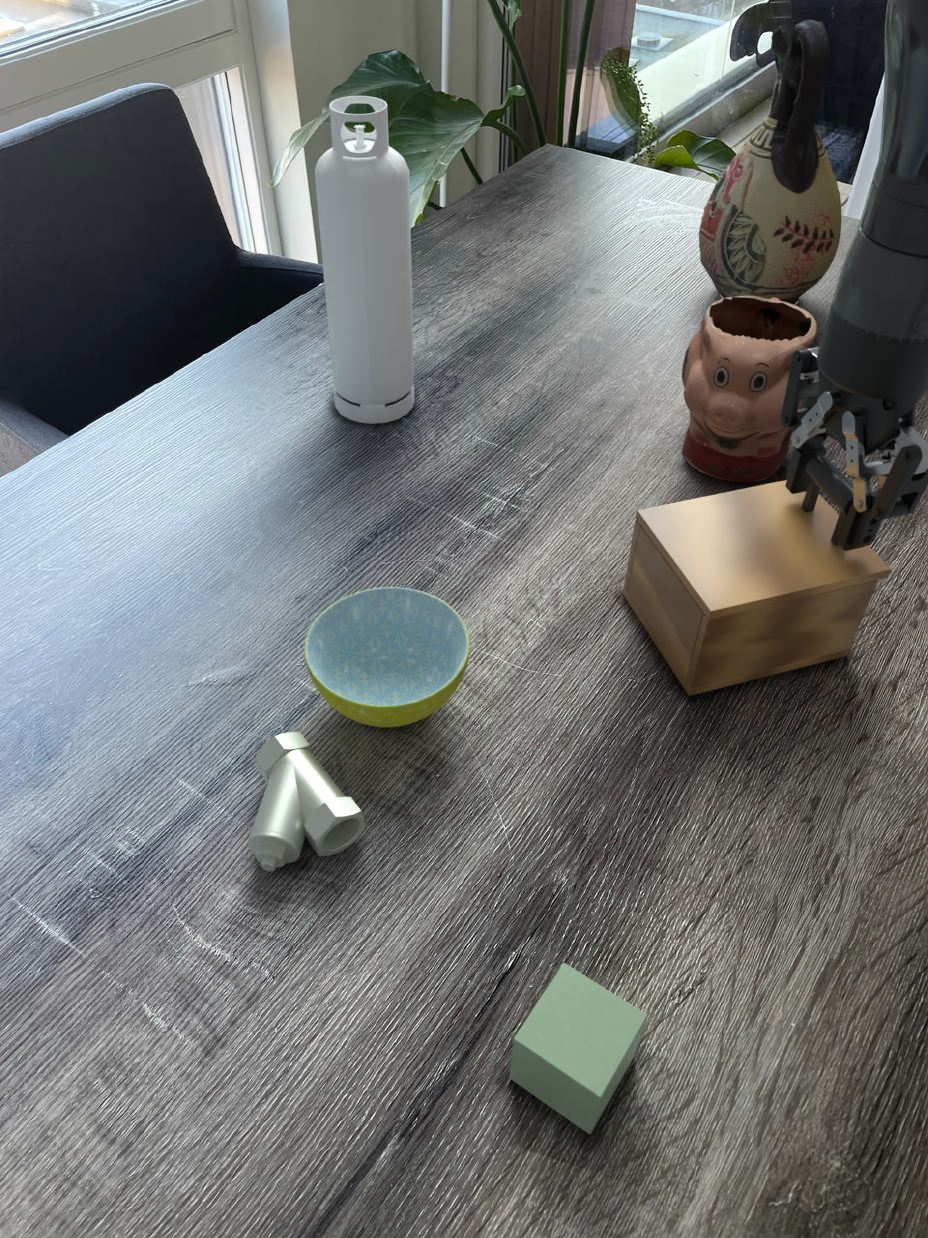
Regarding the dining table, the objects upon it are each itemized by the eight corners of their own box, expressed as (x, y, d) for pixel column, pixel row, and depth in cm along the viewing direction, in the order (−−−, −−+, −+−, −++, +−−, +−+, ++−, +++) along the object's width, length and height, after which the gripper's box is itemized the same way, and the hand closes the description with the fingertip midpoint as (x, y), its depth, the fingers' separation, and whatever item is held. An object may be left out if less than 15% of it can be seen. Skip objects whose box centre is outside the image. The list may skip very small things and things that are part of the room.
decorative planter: (685, 384, 105) (710, 255, 95) (804, 404, 102) (842, 274, 92) (652, 493, 91) (677, 355, 81) (788, 520, 88) (831, 381, 79)
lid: (800, 484, 79) (818, 426, 75) (888, 577, 71) (913, 518, 67) (635, 518, 76) (645, 459, 72) (708, 620, 68) (724, 559, 64)
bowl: (294, 754, 69) (284, 695, 65) (332, 637, 77) (325, 578, 73) (456, 774, 68) (457, 715, 64) (478, 653, 76) (479, 594, 72)
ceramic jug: (680, 269, 124) (728, -9, 103) (805, 273, 124) (878, -5, 103) (697, 337, 112) (756, 36, 91) (836, 341, 112) (926, 41, 91)
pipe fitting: (276, 896, 62) (367, 837, 64) (263, 864, 59) (360, 803, 61) (217, 808, 66) (305, 756, 69) (203, 774, 63) (296, 721, 66)
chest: (768, 561, 84) (791, 486, 79) (847, 656, 77) (878, 580, 71) (622, 594, 81) (635, 518, 76) (688, 696, 73) (708, 620, 68)
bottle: (332, 423, 98) (304, 121, 79) (336, 380, 104) (312, 88, 85) (414, 423, 99) (407, 121, 79) (414, 380, 104) (408, 89, 85)
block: (635, 1055, 55) (648, 1015, 51) (590, 1135, 52) (600, 1098, 48) (556, 1004, 57) (563, 962, 53) (508, 1078, 54) (513, 1039, 50)
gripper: (1026, 352, 58) (928, 568, 70) (878, 249, 68) (814, 454, 79) (917, 371, 56) (835, 590, 68) (782, 263, 66) (731, 470, 78)
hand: (824, 516), depth 74 cm, fingers open, 6 cm apart
